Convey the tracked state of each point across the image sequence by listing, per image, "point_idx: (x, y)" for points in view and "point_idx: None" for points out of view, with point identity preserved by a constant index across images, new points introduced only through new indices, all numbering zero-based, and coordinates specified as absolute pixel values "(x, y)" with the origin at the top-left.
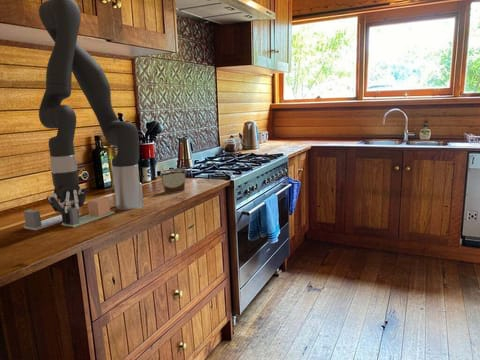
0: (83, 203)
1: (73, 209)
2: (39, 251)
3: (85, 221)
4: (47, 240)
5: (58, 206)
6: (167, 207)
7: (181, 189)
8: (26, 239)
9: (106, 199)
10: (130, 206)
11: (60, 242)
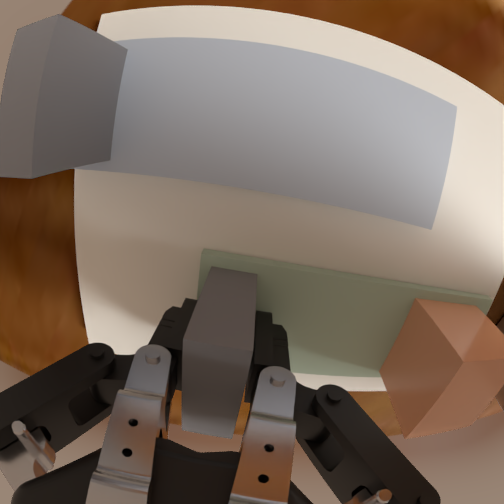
0: (328, 440)
1: (195, 431)
2: (25, 338)
3: None
4: (69, 296)
5: (75, 421)
6: (491, 414)
7: None
8: (37, 187)
9: (459, 427)
10: None
11: None
